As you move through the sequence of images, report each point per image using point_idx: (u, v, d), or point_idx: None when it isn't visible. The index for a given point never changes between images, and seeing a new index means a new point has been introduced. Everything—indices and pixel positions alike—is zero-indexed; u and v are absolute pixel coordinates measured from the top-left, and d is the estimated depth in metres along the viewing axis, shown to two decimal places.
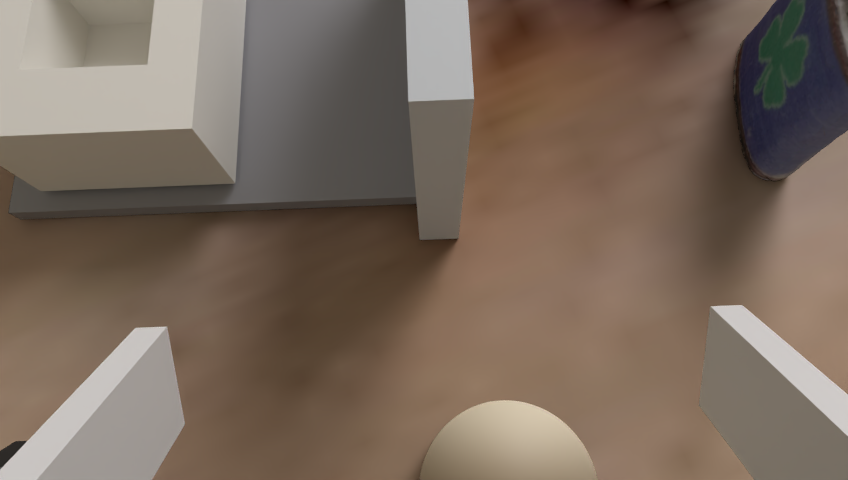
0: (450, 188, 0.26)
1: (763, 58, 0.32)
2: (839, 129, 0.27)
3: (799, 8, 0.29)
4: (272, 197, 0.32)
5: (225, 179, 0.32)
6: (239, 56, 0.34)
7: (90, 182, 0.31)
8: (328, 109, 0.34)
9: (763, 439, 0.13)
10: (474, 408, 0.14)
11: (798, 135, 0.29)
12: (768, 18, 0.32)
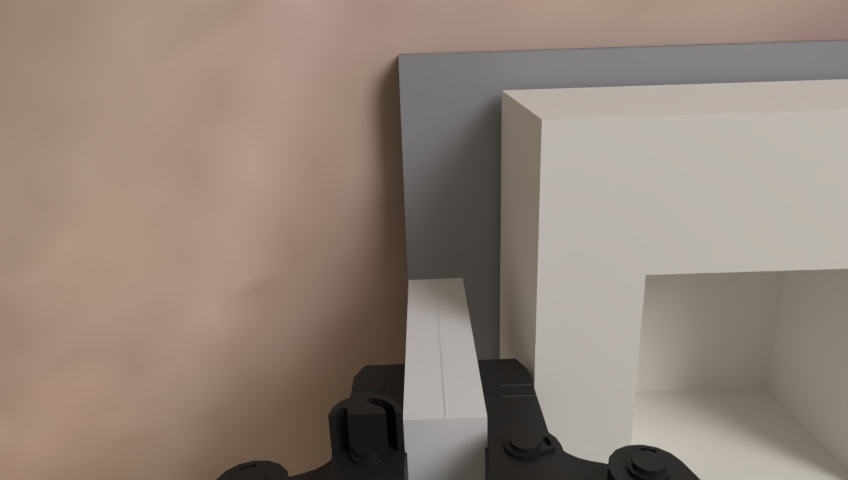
0: None
1: None
2: None
3: None
4: None
5: None
6: None
7: None
8: None
9: None
10: None
11: None
12: None
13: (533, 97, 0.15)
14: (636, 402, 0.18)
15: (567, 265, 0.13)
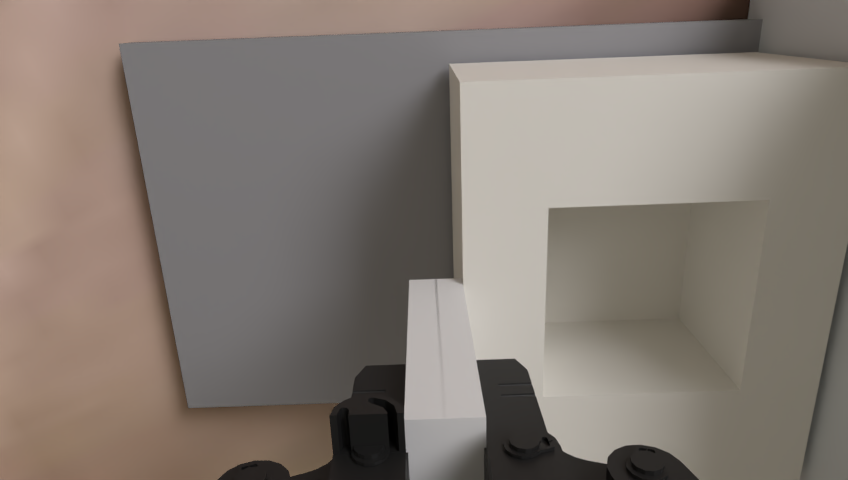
0: None
1: None
2: None
3: None
4: None
5: None
6: None
7: None
8: None
9: None
10: None
11: None
12: None
13: (469, 68, 0.19)
14: (566, 329, 0.22)
15: (485, 200, 0.16)
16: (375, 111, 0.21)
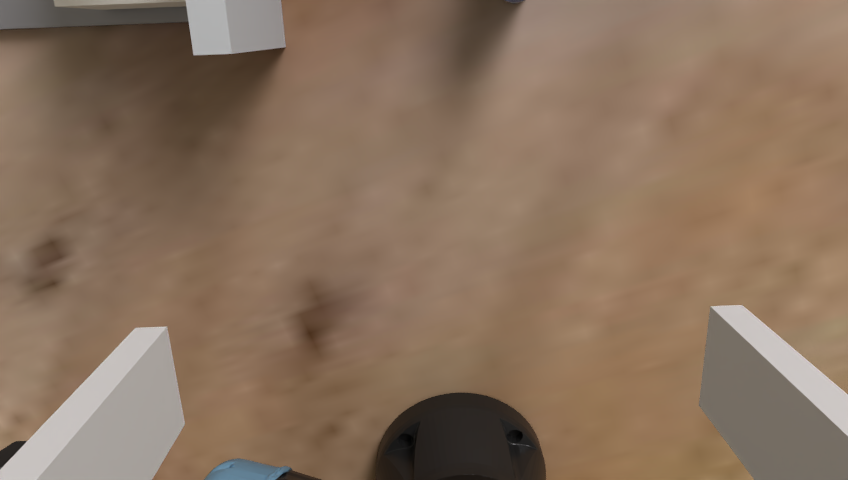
0: None
1: None
2: None
3: None
4: (145, 19, 0.45)
5: None
6: None
7: (139, 7, 0.43)
8: None
9: (763, 439, 0.13)
10: None
11: None
12: None
13: None
14: None
15: None
16: None
